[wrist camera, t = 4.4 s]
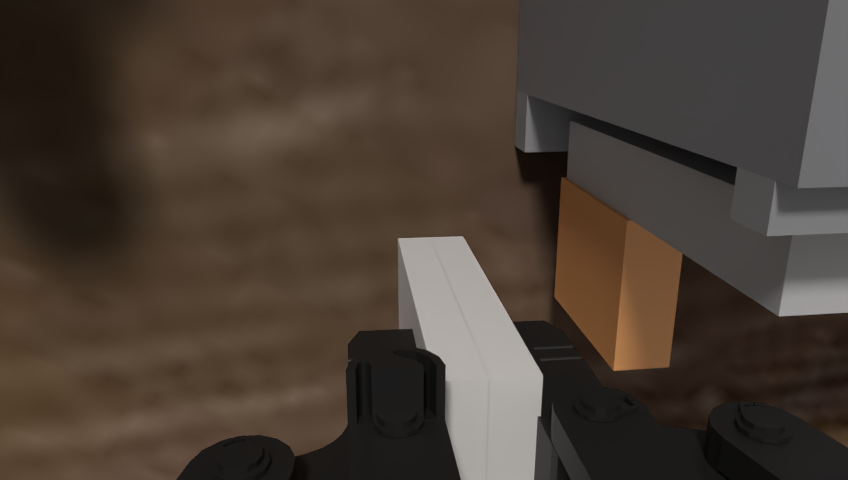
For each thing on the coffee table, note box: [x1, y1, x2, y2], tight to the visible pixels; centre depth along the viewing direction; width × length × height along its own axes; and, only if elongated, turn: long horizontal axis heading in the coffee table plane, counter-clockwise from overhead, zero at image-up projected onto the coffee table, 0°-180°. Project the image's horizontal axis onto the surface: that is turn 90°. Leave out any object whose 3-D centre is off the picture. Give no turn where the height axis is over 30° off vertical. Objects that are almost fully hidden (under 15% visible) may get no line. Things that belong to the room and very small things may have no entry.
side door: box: [554, 120, 848, 371], centre depth 13 cm, size 6×5×8 cm
